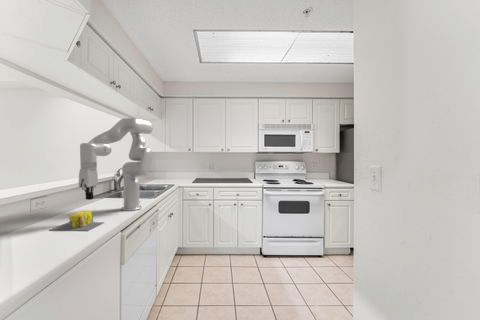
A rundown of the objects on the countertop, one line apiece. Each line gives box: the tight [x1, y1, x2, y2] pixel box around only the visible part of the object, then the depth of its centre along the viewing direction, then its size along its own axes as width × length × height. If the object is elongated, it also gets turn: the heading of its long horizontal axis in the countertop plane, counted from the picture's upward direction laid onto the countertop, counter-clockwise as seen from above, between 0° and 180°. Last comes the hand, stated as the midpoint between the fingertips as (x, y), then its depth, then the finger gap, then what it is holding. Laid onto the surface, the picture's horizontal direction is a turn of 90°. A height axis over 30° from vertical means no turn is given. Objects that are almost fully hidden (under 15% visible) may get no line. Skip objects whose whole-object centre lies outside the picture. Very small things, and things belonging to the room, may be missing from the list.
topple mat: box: [49, 221, 105, 232], centre depth 125 cm, size 14×19×1 cm
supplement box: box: [69, 210, 94, 228], centre depth 127 cm, size 6×6×11 cm
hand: (89, 199), depth 134 cm, fingers closed
